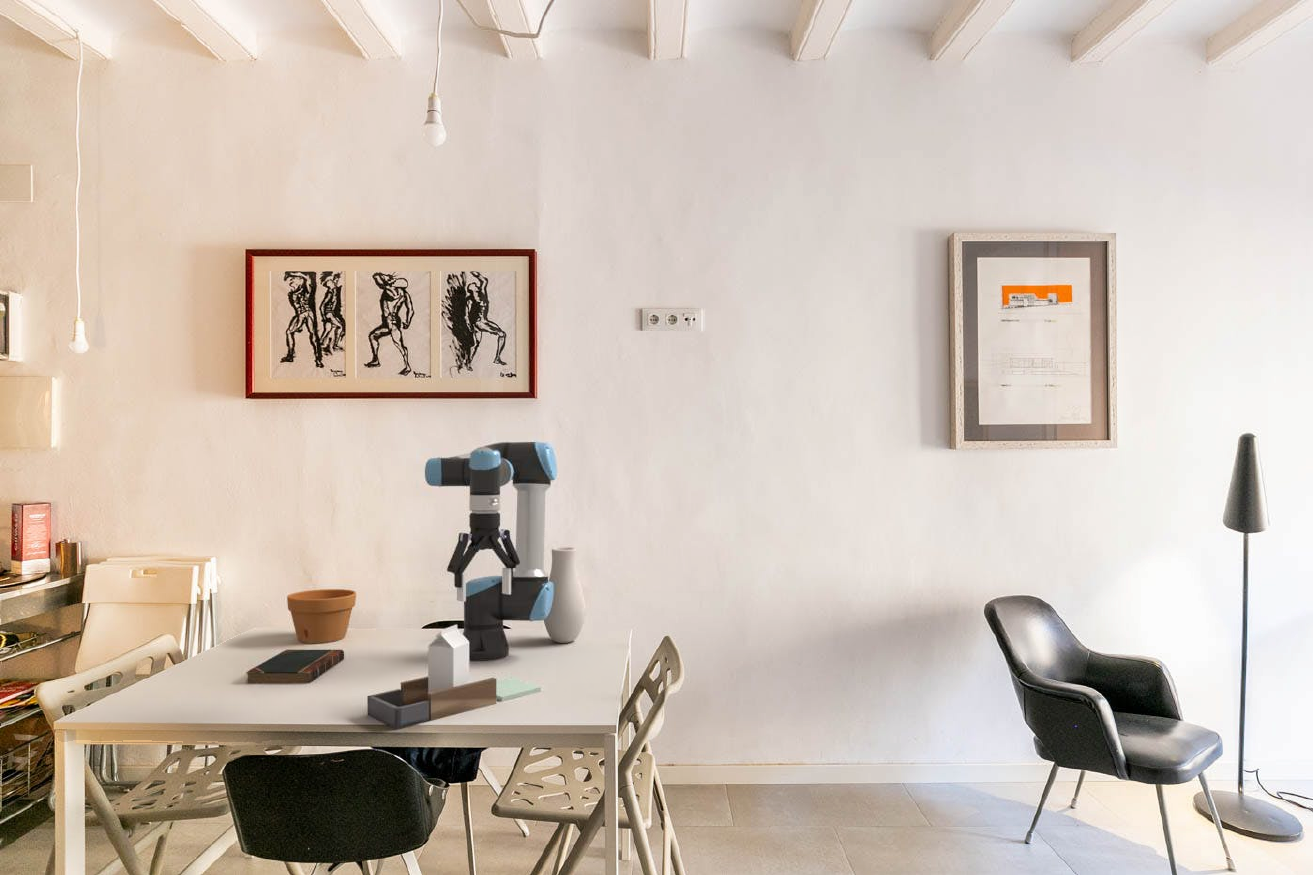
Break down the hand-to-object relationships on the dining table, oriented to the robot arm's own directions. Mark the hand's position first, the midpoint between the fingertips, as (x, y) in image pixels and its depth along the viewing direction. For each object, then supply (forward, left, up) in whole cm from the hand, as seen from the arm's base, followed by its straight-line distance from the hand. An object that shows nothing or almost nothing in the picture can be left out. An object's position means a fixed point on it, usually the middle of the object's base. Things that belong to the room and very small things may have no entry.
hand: (484, 597), depth 208 cm
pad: (-3, +9, -26) cm, 27 cm away
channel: (-3, -8, -26) cm, 27 cm away
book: (-61, -21, -26) cm, 69 cm away
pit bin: (-3, -22, -26) cm, 34 cm away
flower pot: (-94, 0, -26) cm, 98 cm away
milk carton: (-3, -8, -26) cm, 27 cm away
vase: (-35, +54, -26) cm, 69 cm away
